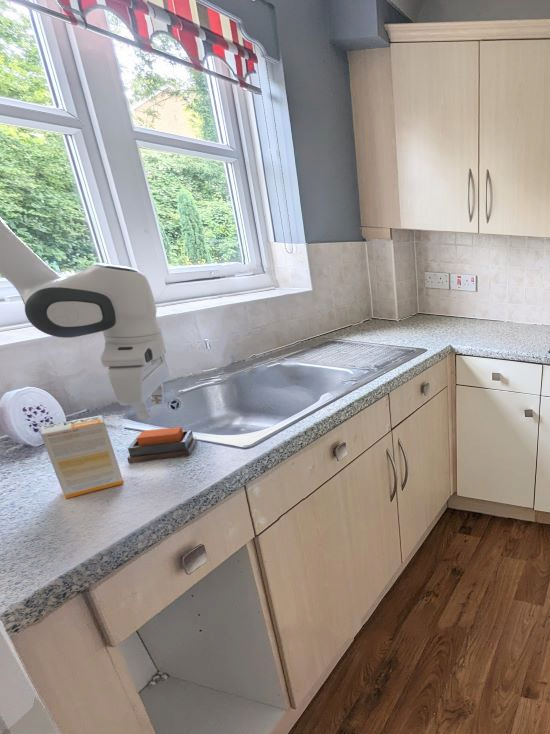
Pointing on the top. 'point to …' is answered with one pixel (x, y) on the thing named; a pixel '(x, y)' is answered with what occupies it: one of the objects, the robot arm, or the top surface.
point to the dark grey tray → (162, 449)
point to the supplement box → (81, 455)
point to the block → (160, 436)
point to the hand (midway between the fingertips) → (152, 410)
